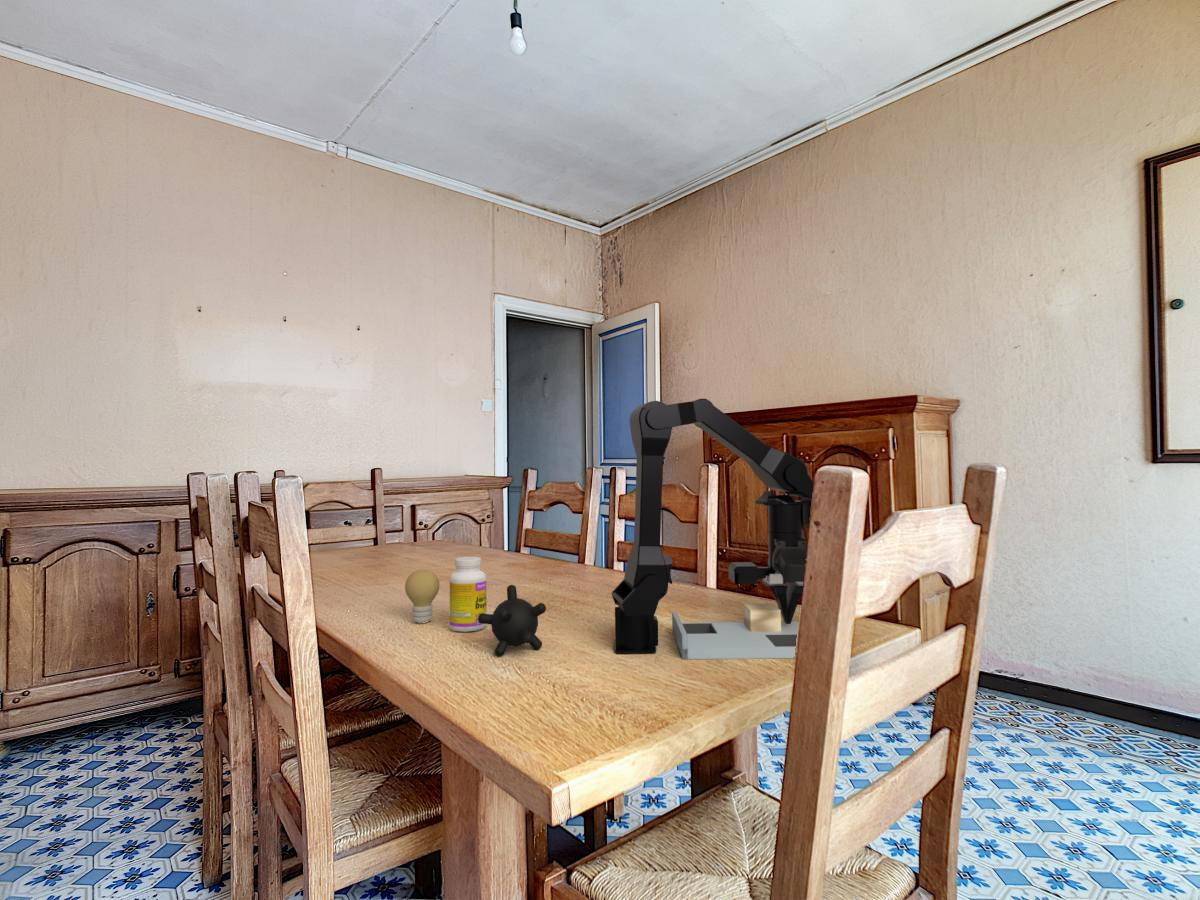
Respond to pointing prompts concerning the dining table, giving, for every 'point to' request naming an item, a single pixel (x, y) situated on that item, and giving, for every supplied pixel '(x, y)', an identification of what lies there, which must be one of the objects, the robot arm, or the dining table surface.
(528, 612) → the toy ball
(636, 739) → the dining table surface
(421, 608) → the light bulb
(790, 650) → the board
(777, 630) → the block
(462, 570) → the supplement bottle
